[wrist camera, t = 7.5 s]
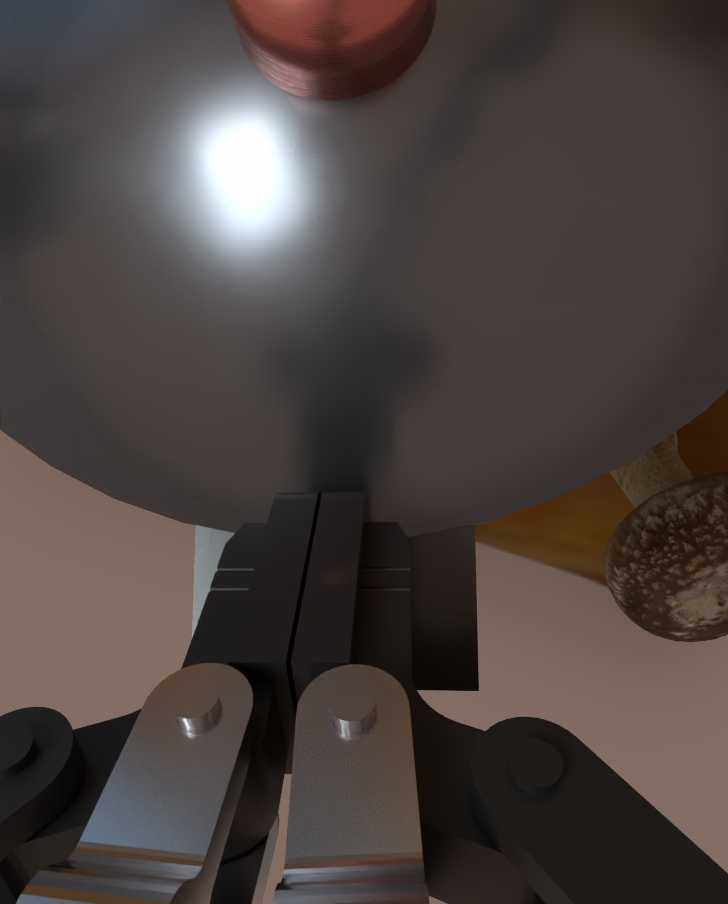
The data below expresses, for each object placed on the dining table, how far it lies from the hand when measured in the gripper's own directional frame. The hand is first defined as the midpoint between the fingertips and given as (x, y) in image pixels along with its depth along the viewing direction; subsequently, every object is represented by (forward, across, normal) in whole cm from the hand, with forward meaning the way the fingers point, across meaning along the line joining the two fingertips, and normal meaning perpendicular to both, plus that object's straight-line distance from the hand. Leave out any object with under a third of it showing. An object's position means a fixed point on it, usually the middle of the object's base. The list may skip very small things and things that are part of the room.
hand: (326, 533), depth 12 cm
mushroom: (+27, -14, +14) cm, 34 cm away
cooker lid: (+7, 0, -6) cm, 9 cm away
